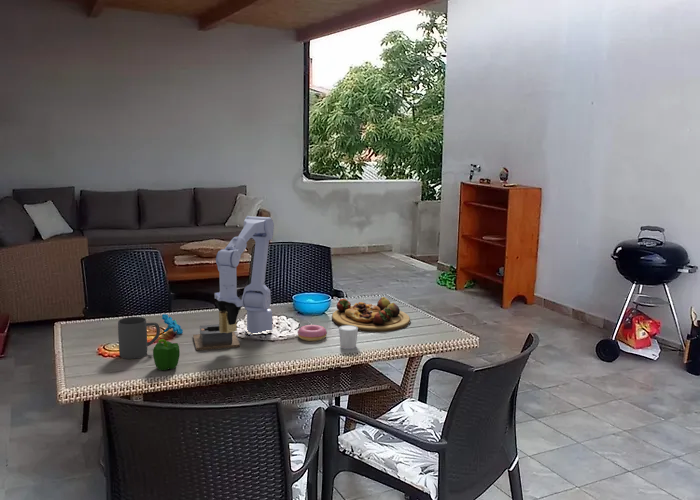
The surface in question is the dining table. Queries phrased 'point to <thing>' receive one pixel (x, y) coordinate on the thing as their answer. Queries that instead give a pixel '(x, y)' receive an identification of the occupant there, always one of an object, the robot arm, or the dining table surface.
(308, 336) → the doughnut
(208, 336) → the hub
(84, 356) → the dining table surface
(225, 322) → the keyed shaft
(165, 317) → the gear
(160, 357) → the bell pepper
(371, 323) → the wooden plate with food
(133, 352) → the mug
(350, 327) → the shot glass
